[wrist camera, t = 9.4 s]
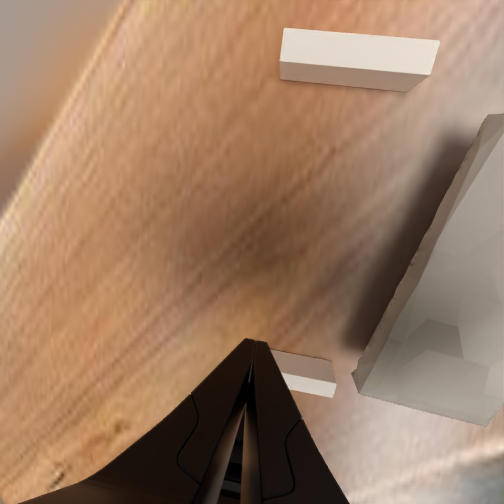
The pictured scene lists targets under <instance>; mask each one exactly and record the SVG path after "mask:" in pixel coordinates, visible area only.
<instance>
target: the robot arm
mask: <svg viewBox="0 0 504 504" xmlns="http://www.w3.org/2000/svg"><path fill="white" fill-rule="evenodd" d="M255 343H256V344H255ZM254 349H255V350H254ZM253 355H254V356H253ZM252 361H253V362H252ZM251 367H252V368H251ZM250 373H251V374H250ZM249 379H250V380H249ZM248 385H249V386H248ZM247 391H248V392H247ZM18 504H350V503H349V502H348V500H347V498H346V497H345V495H344V493H343V492H342V490H341V488H340V487H339V485H338V483H337V482H336V480H335V478H334V477H333V475H332V473H331V472H330V470H329V468H328V466H327V465H326V463H325V461H324V459H323V458H322V456H321V454H320V452H319V451H318V449H317V447H316V445H315V443H314V441H313V439H312V437H311V435H310V433H309V431H308V429H307V427H306V424H305V422H304V420H303V419H302V416H301V414H300V412H299V410H298V408H297V405H296V403H295V401H294V399H293V397H292V395H291V393H290V390H289V388H288V386H287V384H286V382H285V380H284V378H283V376H282V373H281V371H280V369H279V367H278V365H277V363H276V361H275V358H274V356H273V354H272V352H271V350H270V348H269V346H268V344H267V342H263V341H258V340H257V341H255V340H253V339H248V338H245V339H244V340H243V341H242V342H241V343H240V344H239V345H238V346H237V347H236V348H235V349H234V350H233V351H232V352H231V353H230V354H229V355H228V356H227V357H226V358H225V359H224V360H223V361H222V362H221V363H220V364H219V365H218V366H217V367H216V368H215V369H214V370H213V371H212V372H211V373H210V374H209V375H208V376H207V377H206V378H205V379H204V380H203V381H202V382H201V383H200V384H199V385H198V386H197V387H196V388H195V389H194V390H193V391H192V392H191V395H190V394H189V395H188V396H187V397H186V398H185V399H184V400H183V401H182V402H181V403H180V404H179V405H178V406H177V407H176V408H175V409H174V410H173V411H172V412H171V413H170V414H169V415H168V416H166V417H165V418H164V419H163V420H162V421H160V422H159V423H158V424H157V425H156V426H154V427H153V428H152V429H151V430H150V431H148V432H147V433H146V434H145V435H143V436H142V437H141V438H140V439H138V440H137V441H136V442H135V443H134V444H132V445H131V446H130V447H129V448H127V449H126V450H125V451H124V452H122V453H121V454H120V455H119V456H117V457H116V458H115V459H114V460H112V461H111V462H110V463H109V464H107V465H106V466H105V467H103V468H102V469H101V470H99V471H98V472H96V473H95V474H93V475H91V476H90V477H88V478H86V479H84V480H82V481H80V482H78V483H76V484H73V485H70V486H67V487H64V488H62V489H59V490H56V491H53V492H50V493H47V494H44V495H41V496H38V497H36V498H33V499H30V500H27V501H24V502H21V503H18Z"/></svg>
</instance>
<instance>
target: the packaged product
mask: <svg viewBox="0 0 504 504" xmlns="http://www.w3.org/2000/svg"><path fill="white" fill-rule="evenodd" d="M351 374H352V377H353V379H354V382H355V385H356V387H357V390H358V393H359V394H361V395H365V396H368V397H372V398H376V399H379V400H383V401H387V402H391V403H394V404H398V405H402V406H406V407H409V408H413V409H417V410H421V411H425V412H429V413H433V414H437V415H441V416H445V417H449V418H453V419H457V420H460V421H464V422H468V423H472V424H476V425H480V426H484V427H487V425H488V424H489V422H490V421H491V420H492V418H493V417H494V415H495V414H496V413H497V411H498V410H499V408H500V407H501V406H502V405H503V404H504V114H492V115H488V116H487V117H486V118H485V119H484V121H483V123H482V125H481V127H480V129H479V132H478V134H477V136H476V138H475V140H474V142H473V144H472V146H471V148H470V149H469V151H468V152H467V153H466V155H465V158H464V160H463V162H462V164H461V166H460V168H459V169H458V171H457V173H456V175H455V177H454V179H453V181H452V183H451V185H450V187H449V189H448V190H447V192H446V194H445V196H444V198H443V200H442V202H441V204H440V206H439V208H438V210H437V212H436V215H435V217H434V219H433V222H432V224H431V226H430V227H429V229H428V230H427V232H426V234H425V235H424V237H423V239H422V241H421V244H420V246H419V247H418V249H417V251H416V253H415V255H414V257H413V258H412V260H411V262H410V264H409V266H408V268H407V270H406V273H405V275H404V277H403V278H402V280H401V281H400V283H399V285H398V286H397V288H396V291H395V294H394V296H393V298H392V299H391V301H390V303H389V305H388V306H387V308H386V311H385V312H384V314H383V317H382V319H381V321H380V322H379V324H378V326H377V327H376V330H375V332H374V333H373V335H372V337H371V339H370V341H369V343H368V345H367V346H366V349H365V351H364V353H363V355H362V357H361V358H360V360H359V361H358V366H357V369H356V370H354V371H353V372H352V373H351Z"/></svg>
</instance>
